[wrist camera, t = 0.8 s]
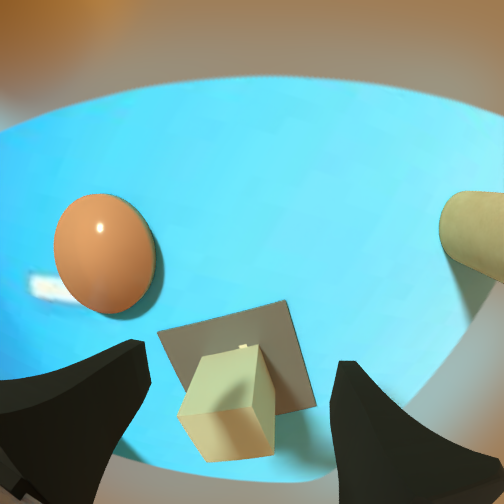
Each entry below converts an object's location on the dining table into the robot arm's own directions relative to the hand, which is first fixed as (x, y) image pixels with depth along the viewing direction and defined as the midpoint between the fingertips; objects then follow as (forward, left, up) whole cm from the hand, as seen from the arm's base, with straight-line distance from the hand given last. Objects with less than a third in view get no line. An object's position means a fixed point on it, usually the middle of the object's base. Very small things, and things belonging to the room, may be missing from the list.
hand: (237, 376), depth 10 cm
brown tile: (-3, -6, -11) cm, 13 cm away
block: (-3, -6, -10) cm, 13 cm away
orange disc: (-10, +6, -11) cm, 16 cm away
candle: (+17, 0, -11) cm, 20 cm away
